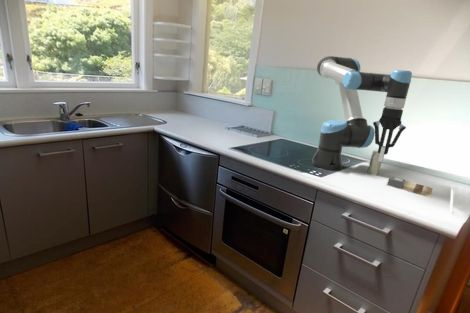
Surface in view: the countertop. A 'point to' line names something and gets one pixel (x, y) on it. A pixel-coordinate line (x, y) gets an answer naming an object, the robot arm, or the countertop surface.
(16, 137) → the countertop surface
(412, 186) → the board
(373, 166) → the box
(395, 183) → the gray block
